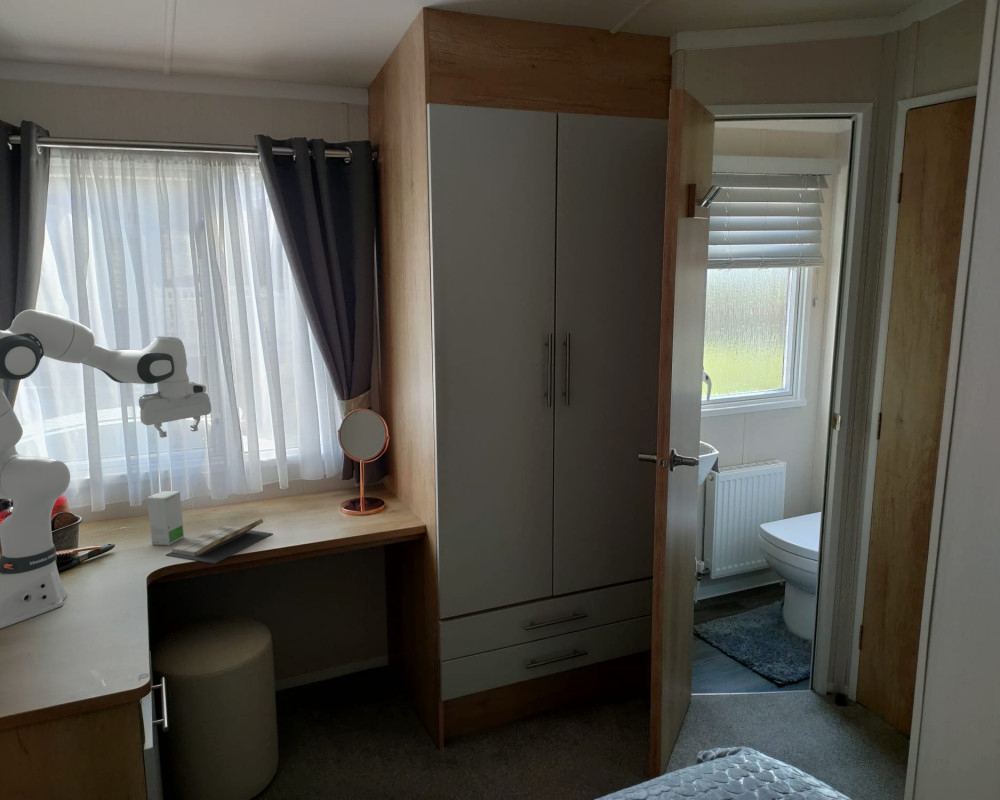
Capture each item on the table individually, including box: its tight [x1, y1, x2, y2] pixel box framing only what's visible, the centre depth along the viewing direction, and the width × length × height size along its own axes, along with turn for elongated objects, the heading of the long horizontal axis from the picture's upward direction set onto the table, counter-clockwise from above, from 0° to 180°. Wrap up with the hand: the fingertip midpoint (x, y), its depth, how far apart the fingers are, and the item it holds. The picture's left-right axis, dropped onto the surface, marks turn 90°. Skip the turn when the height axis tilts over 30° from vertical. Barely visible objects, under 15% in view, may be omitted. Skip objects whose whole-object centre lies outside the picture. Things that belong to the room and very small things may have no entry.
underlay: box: [165, 529, 274, 565], centre depth 227 cm, size 26×19×1 cm
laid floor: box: [171, 525, 242, 556], centre depth 229 cm, size 22×9×1 cm, turn 158°
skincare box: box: [146, 490, 185, 546], centre depth 230 cm, size 8×7×16 cm
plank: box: [195, 518, 264, 555], centre depth 225 cm, size 22×8×1 cm, turn 158°
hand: (179, 433), depth 219 cm, fingers open, 8 cm apart
